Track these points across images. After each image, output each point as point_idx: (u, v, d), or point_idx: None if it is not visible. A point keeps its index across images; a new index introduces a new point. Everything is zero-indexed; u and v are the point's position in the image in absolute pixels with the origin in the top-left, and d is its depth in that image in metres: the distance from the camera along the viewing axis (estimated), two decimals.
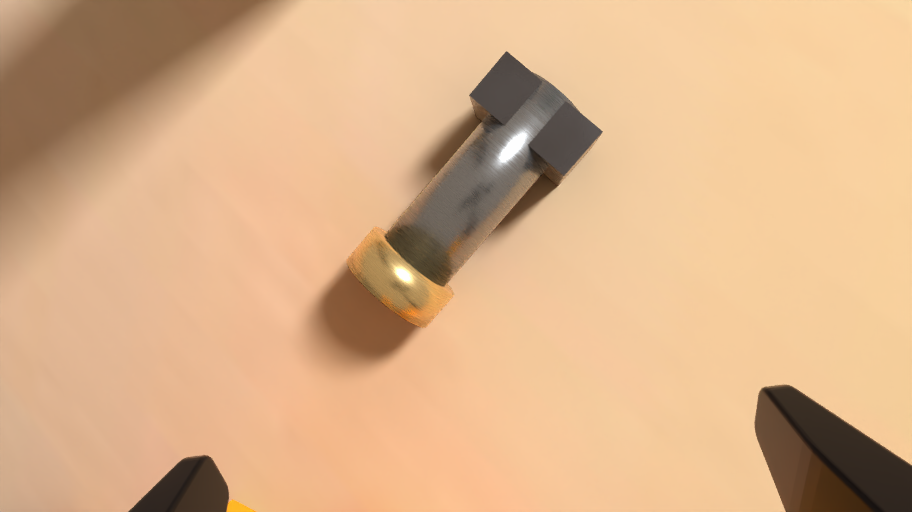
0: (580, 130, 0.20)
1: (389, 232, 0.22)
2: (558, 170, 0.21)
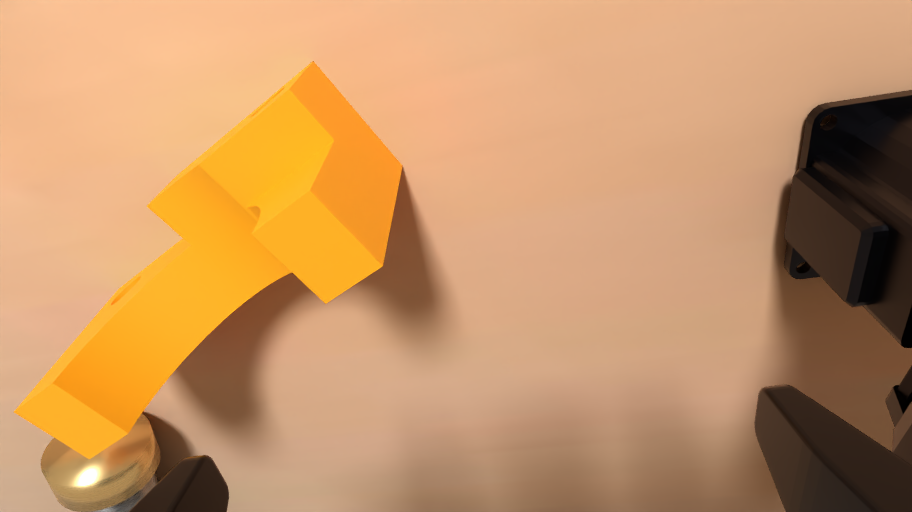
0: None
1: None
2: None
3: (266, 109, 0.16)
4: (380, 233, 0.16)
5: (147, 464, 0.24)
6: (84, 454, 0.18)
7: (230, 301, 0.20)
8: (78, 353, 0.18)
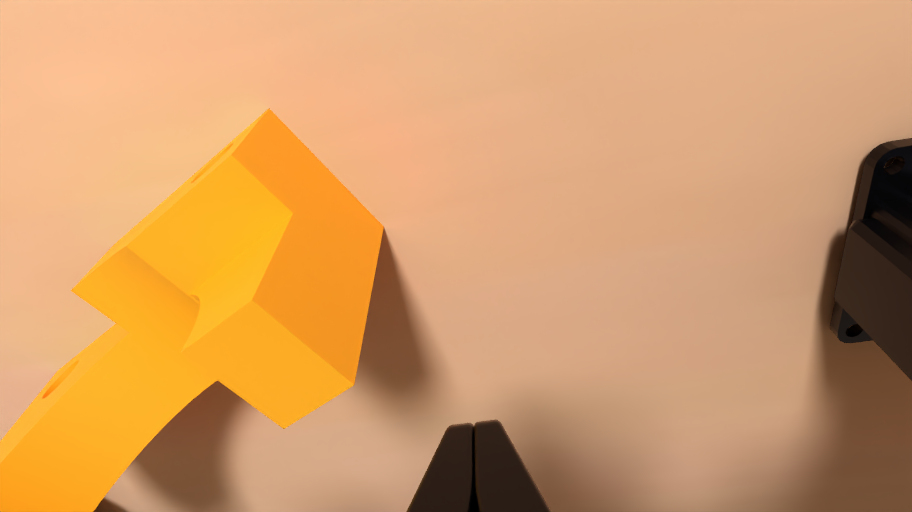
0: None
1: None
2: None
3: (204, 179, 0.13)
4: (352, 334, 0.12)
5: None
6: None
7: (182, 393, 0.17)
8: None
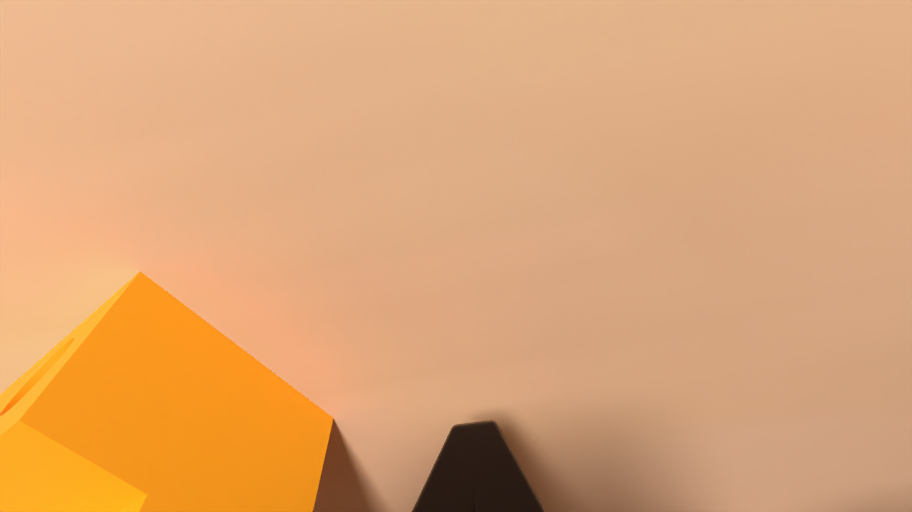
0: None
1: None
2: None
3: None
4: None
5: None
6: None
7: None
8: None
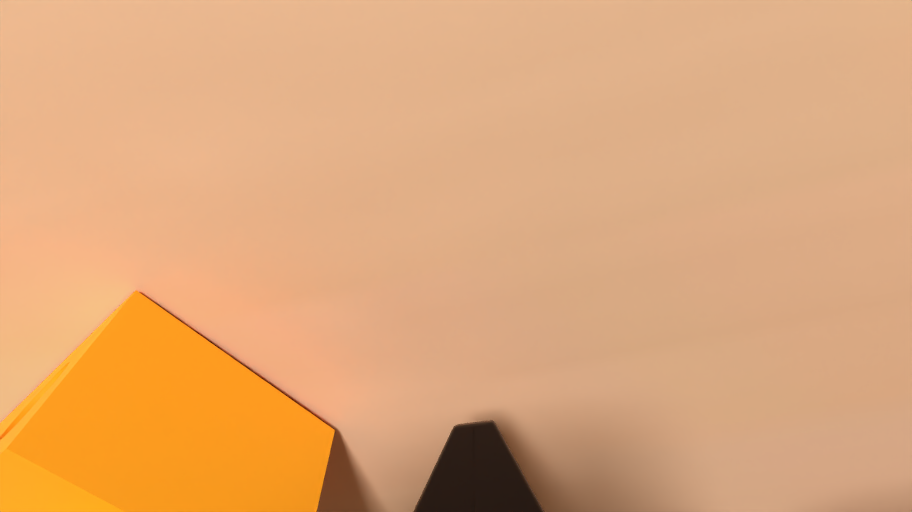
0: None
1: None
2: None
3: None
4: None
5: None
6: None
7: None
8: None
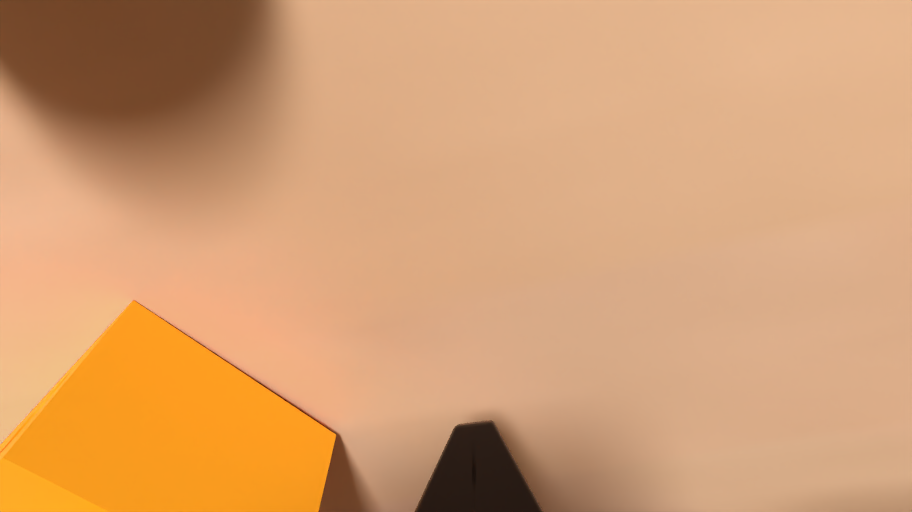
0: None
1: None
2: None
3: None
4: None
5: None
6: None
7: None
8: None
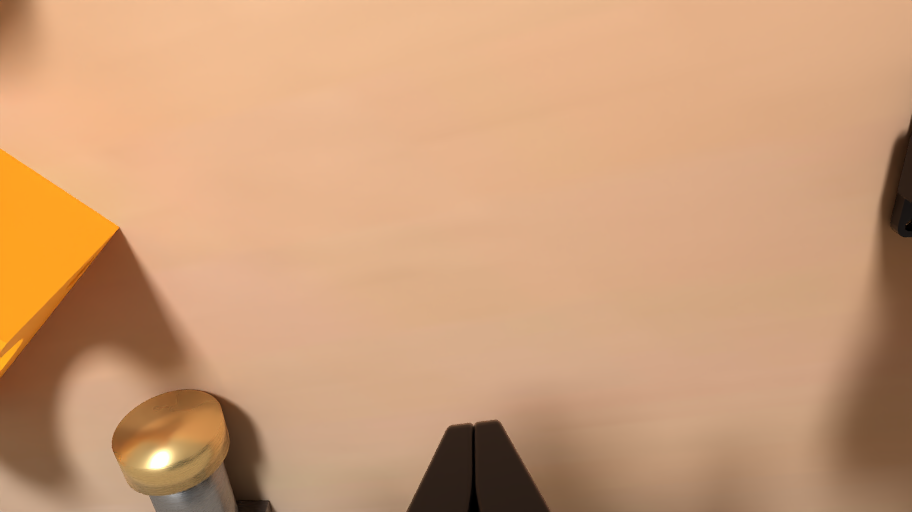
0: None
1: None
2: None
3: None
4: (24, 308, 0.17)
5: (220, 446, 0.23)
6: None
7: None
8: None
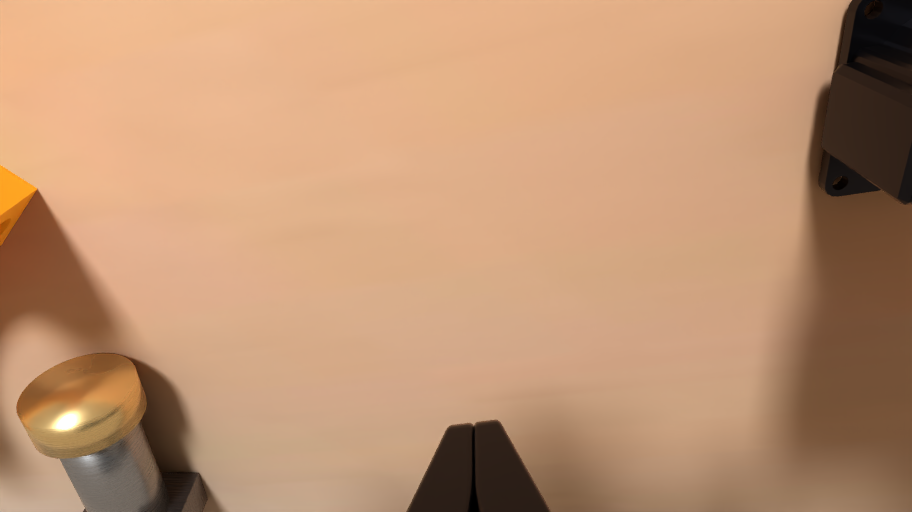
0: None
1: None
2: None
3: None
4: None
5: (132, 409, 0.23)
6: None
7: None
8: None
